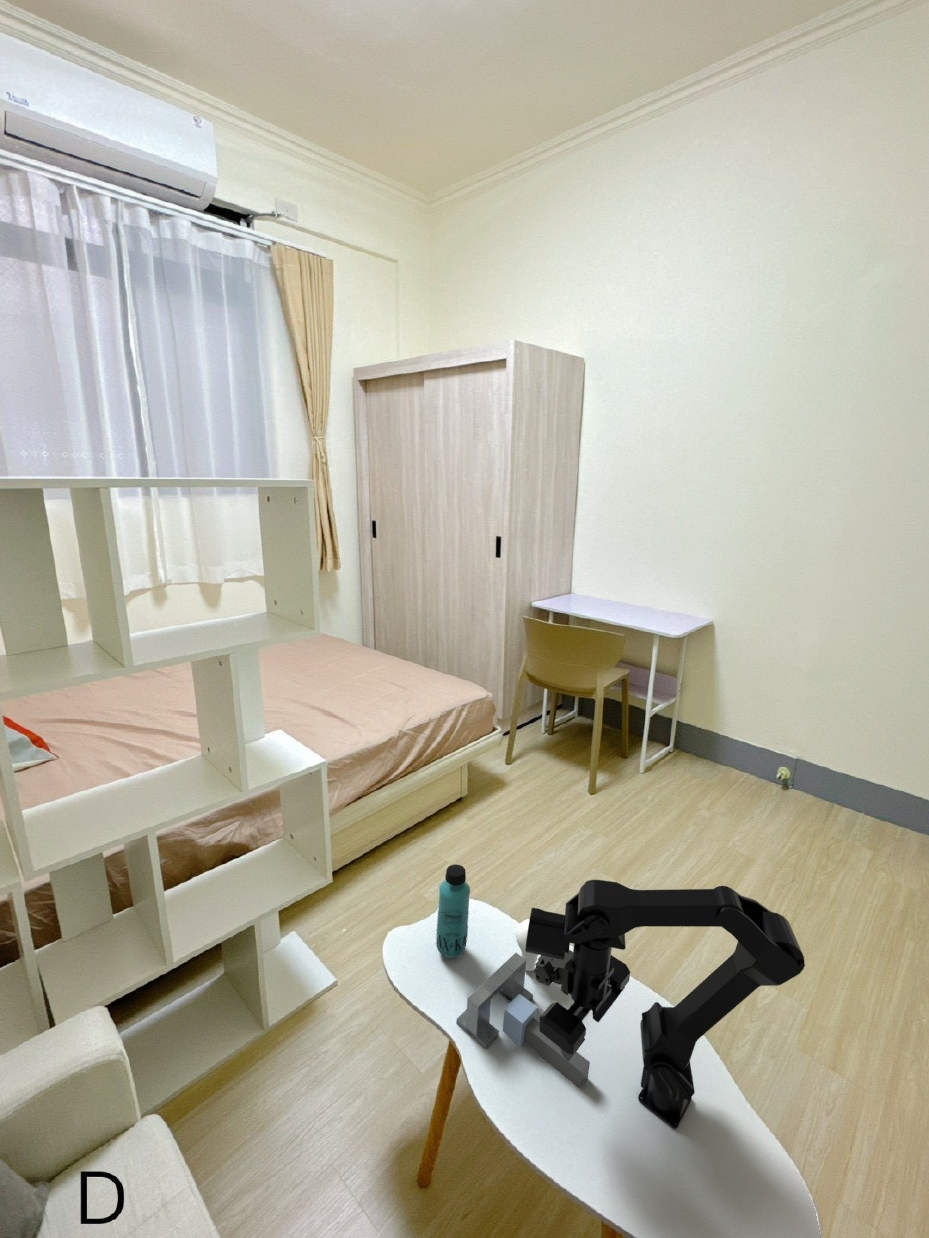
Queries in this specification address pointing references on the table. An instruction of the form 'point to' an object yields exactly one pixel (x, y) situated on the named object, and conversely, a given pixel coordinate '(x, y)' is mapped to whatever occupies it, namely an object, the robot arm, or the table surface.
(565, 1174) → the table surface
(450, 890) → the beverage bottle
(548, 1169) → the table surface
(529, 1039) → the plug
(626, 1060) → the table surface
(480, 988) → the gray arch-shaped bracket
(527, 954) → the lightbulb
